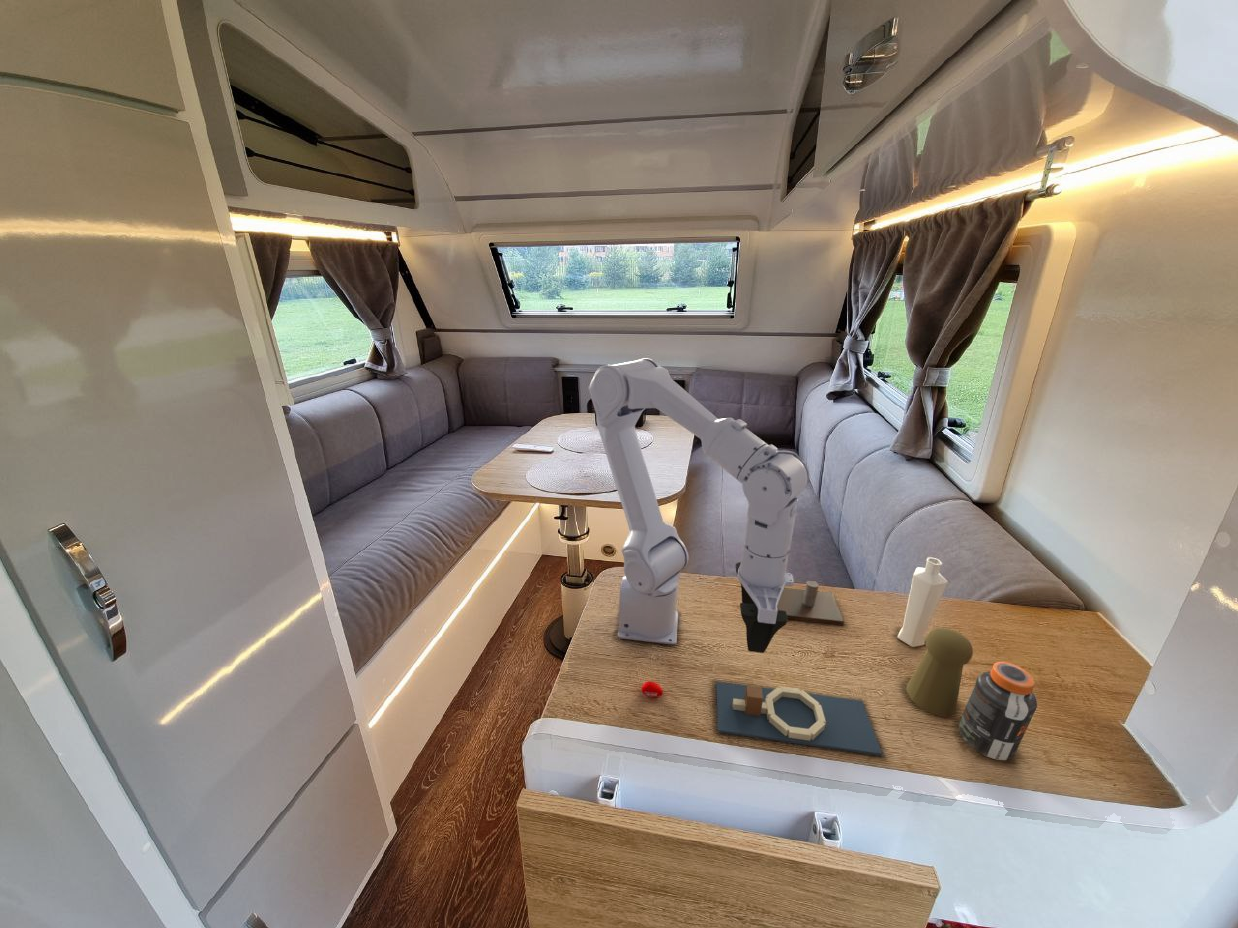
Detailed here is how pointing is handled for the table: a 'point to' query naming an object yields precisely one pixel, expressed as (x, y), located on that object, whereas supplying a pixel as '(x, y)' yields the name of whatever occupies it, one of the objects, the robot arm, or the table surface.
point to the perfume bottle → (922, 602)
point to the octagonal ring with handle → (756, 706)
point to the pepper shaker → (940, 672)
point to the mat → (800, 720)
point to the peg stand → (810, 605)
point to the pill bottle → (999, 711)
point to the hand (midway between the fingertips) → (753, 629)
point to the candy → (652, 689)
